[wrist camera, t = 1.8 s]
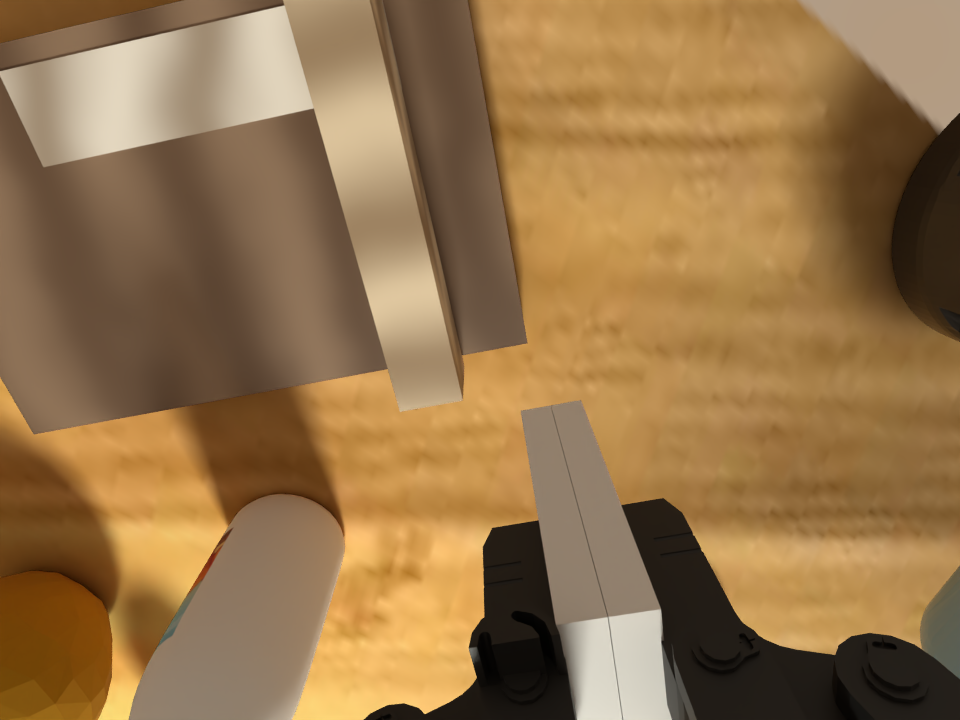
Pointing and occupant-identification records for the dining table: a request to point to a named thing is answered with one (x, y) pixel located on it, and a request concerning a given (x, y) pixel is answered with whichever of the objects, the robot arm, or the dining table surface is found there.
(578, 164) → the dining table surface
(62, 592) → the apple
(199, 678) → the milk bottle
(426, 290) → the folding leg
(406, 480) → the dining table surface
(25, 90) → the stool seat
